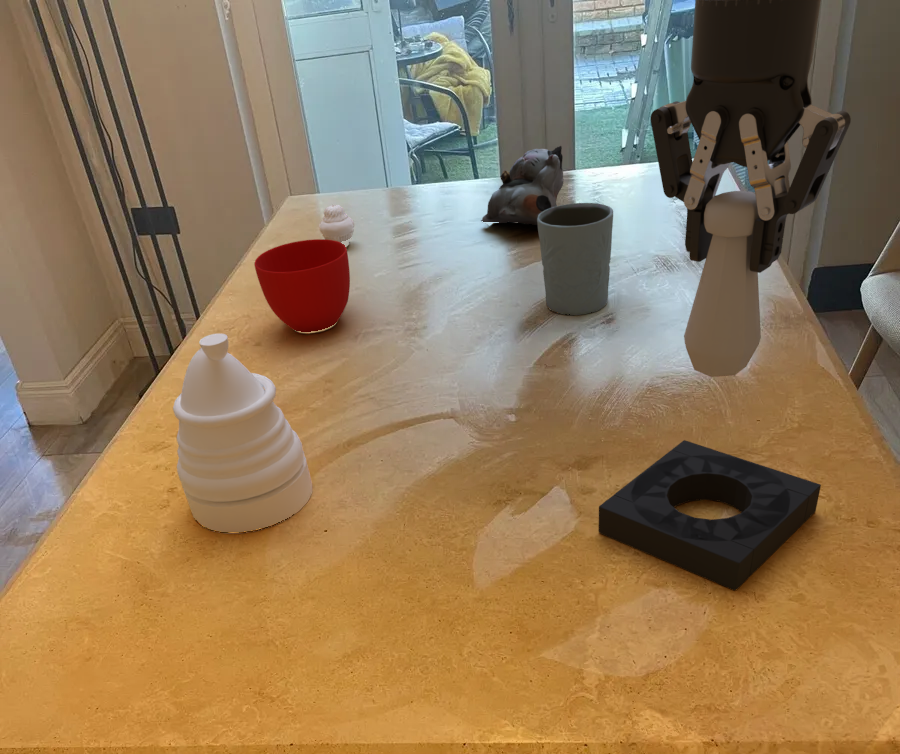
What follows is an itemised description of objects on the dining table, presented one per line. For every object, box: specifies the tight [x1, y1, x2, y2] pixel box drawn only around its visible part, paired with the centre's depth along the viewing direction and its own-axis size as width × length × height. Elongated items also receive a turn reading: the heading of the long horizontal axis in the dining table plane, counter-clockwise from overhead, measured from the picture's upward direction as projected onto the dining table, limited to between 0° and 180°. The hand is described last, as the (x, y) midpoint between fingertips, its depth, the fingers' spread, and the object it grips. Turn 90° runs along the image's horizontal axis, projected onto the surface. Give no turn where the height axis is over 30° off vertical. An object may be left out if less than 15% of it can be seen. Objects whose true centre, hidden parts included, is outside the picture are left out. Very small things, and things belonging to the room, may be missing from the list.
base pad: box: [598, 439, 822, 591], centre depth 77 cm, size 14×14×3 cm
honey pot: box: [172, 332, 313, 532], centre depth 84 cm, size 13×13×18 cm
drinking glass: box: [537, 202, 614, 316], centre depth 116 cm, size 10×10×12 cm
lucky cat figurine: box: [480, 145, 565, 226], centre depth 144 cm, size 15×12×14 cm
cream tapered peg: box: [683, 190, 762, 378], centre depth 65 cm, size 6×6×13 cm
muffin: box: [318, 204, 355, 242], centre depth 147 cm, size 6×6×7 cm
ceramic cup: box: [254, 238, 351, 332], centre depth 122 cm, size 13×17×10 cm
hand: (729, 262), depth 63 cm, fingers closed on cream tapered peg, 4 cm apart
